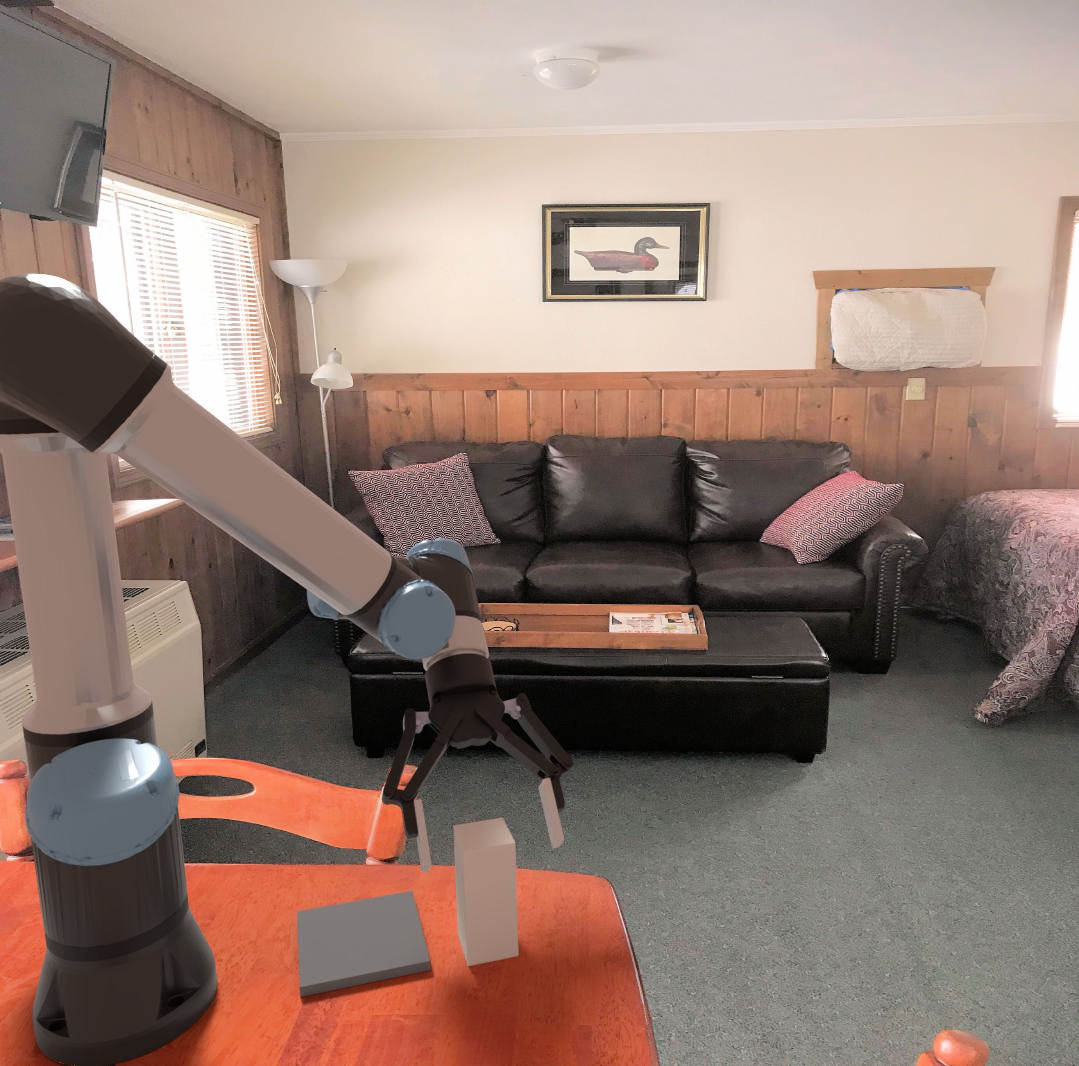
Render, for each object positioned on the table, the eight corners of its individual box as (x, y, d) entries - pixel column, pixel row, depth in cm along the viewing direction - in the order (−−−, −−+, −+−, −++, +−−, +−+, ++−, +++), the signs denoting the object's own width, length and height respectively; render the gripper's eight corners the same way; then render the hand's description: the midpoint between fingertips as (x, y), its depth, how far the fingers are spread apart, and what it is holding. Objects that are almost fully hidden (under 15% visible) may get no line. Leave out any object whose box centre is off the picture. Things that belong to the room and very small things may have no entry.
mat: (300, 997, 82) (299, 987, 81) (297, 920, 93) (296, 911, 93) (430, 970, 85) (430, 960, 85) (412, 899, 96) (412, 890, 96)
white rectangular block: (468, 966, 85) (463, 851, 83) (458, 935, 90) (453, 825, 88) (518, 956, 87) (515, 842, 84) (506, 925, 91) (502, 817, 89)
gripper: (555, 666, 107) (601, 844, 96) (344, 693, 100) (367, 889, 89) (569, 637, 101) (619, 824, 90) (345, 664, 94) (369, 869, 83)
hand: (493, 857), depth 89 cm, fingers open, 13 cm apart
